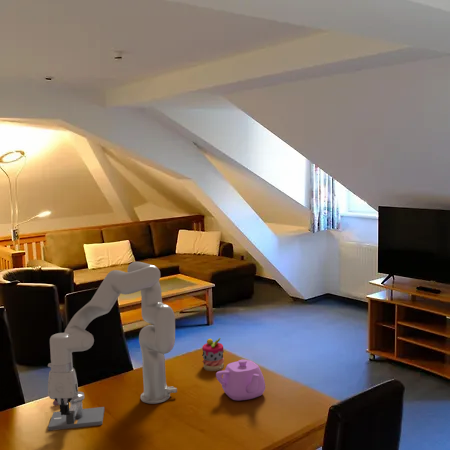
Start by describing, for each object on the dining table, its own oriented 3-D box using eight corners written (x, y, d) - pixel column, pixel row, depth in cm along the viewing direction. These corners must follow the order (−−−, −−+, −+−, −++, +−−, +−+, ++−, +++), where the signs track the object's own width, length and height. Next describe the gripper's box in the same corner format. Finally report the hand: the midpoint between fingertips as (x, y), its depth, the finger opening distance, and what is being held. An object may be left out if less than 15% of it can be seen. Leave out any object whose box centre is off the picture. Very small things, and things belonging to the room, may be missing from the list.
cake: (200, 371, 245) (199, 341, 243) (205, 362, 255) (204, 333, 253) (222, 371, 243) (221, 341, 241) (225, 363, 253) (224, 334, 252)
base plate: (104, 410, 208) (104, 406, 208) (102, 424, 196) (101, 420, 196) (53, 415, 205) (53, 411, 205) (48, 430, 193) (48, 426, 193)
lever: (70, 412, 203) (68, 392, 202) (86, 411, 204) (85, 390, 203) (62, 434, 186) (60, 412, 185) (79, 433, 187) (78, 411, 186)
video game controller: (60, 410, 213) (66, 396, 211) (51, 405, 213) (57, 391, 212) (71, 399, 222) (77, 386, 221) (63, 394, 223) (68, 381, 222)
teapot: (210, 392, 221) (208, 359, 220) (253, 382, 229) (252, 350, 228) (230, 415, 200) (229, 378, 199) (277, 403, 209) (276, 368, 207)
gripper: (38, 370, 186) (41, 417, 188) (77, 371, 184) (80, 418, 186) (47, 362, 193) (50, 408, 195) (85, 363, 192) (87, 409, 194)
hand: (64, 413), depth 191 cm, fingers closed
